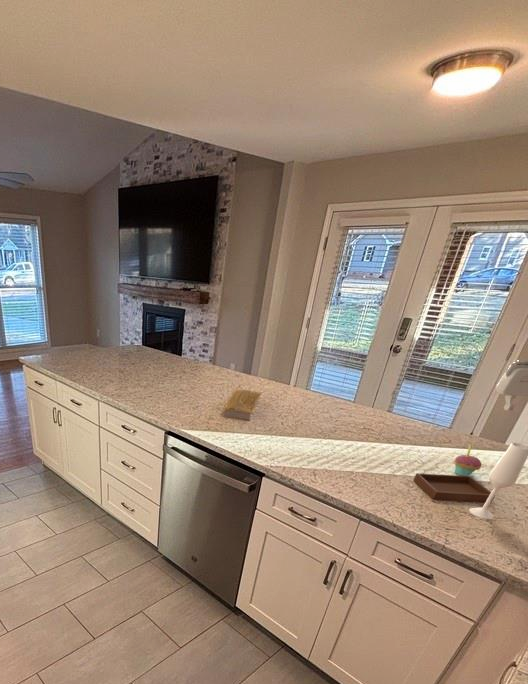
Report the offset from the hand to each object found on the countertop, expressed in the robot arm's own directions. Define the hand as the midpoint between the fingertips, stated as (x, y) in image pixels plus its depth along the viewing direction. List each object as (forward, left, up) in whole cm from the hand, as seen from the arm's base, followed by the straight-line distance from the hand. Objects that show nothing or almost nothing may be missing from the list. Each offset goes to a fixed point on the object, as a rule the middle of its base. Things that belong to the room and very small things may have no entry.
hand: (523, 410), depth 120 cm
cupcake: (-12, -25, -33) cm, 43 cm away
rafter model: (+63, -88, -33) cm, 113 cm away
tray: (+1, -10, -33) cm, 34 cm away
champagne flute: (-1, +4, -33) cm, 33 cm away
